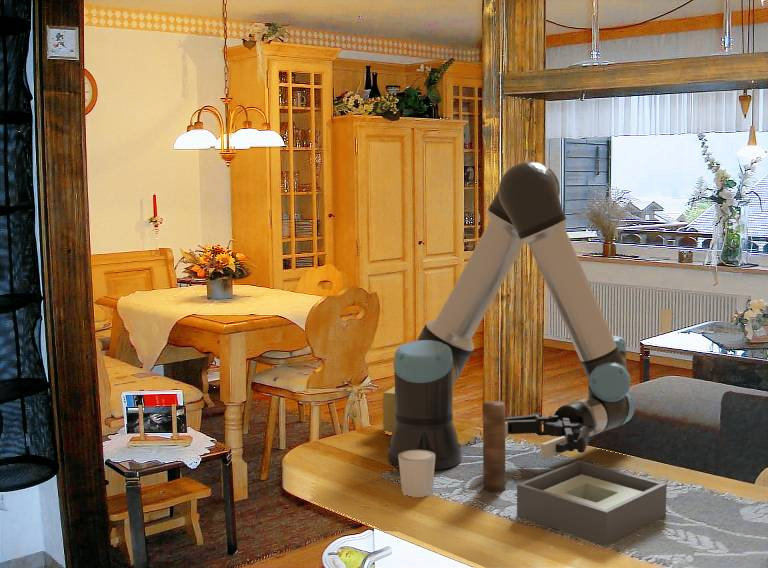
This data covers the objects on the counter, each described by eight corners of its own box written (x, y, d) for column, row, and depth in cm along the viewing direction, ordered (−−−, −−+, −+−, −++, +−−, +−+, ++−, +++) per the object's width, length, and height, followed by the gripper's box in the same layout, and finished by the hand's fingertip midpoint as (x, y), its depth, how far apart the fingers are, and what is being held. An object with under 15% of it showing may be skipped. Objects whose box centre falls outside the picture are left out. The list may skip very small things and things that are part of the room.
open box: (516, 515, 151) (516, 484, 151) (578, 489, 163) (578, 460, 162) (606, 546, 138) (606, 512, 138) (665, 515, 150) (666, 483, 150)
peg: (478, 488, 165) (478, 403, 162) (493, 483, 167) (492, 399, 165) (495, 494, 162) (495, 407, 160) (509, 488, 164) (509, 403, 162)
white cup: (433, 499, 160) (432, 461, 159) (395, 497, 161) (394, 459, 160) (438, 486, 166) (438, 449, 165) (402, 484, 168) (401, 448, 167)
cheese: (441, 427, 204) (441, 384, 203) (424, 440, 195) (423, 395, 193) (399, 423, 208) (399, 381, 207) (380, 435, 199) (379, 391, 198)
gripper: (634, 451, 171) (569, 479, 157) (529, 426, 189) (462, 449, 175) (634, 413, 170) (569, 437, 156) (529, 391, 188) (462, 411, 174)
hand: (512, 443), depth 165 cm, fingers open, 13 cm apart
